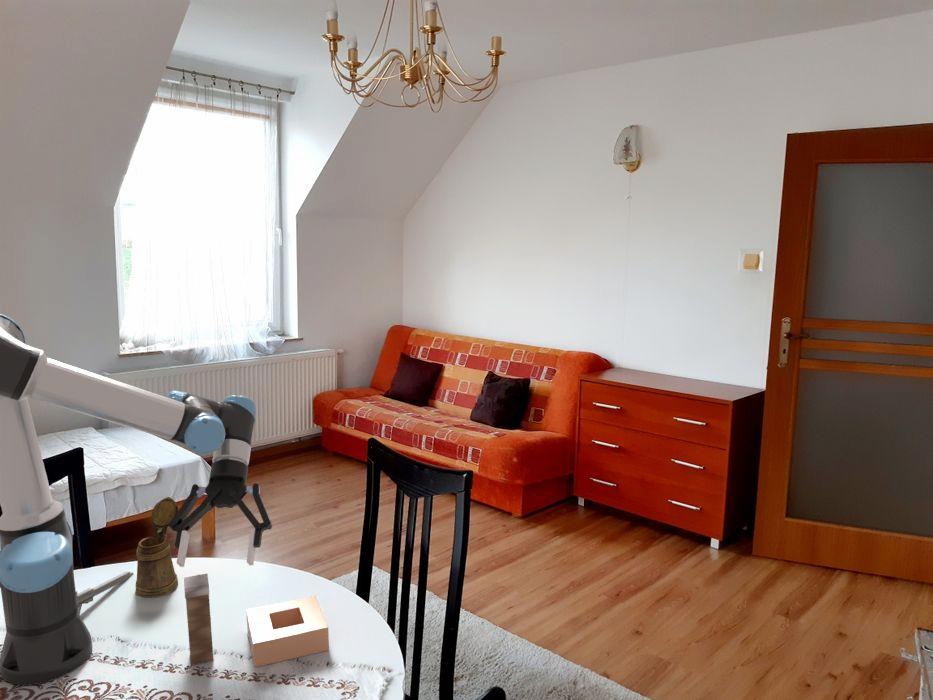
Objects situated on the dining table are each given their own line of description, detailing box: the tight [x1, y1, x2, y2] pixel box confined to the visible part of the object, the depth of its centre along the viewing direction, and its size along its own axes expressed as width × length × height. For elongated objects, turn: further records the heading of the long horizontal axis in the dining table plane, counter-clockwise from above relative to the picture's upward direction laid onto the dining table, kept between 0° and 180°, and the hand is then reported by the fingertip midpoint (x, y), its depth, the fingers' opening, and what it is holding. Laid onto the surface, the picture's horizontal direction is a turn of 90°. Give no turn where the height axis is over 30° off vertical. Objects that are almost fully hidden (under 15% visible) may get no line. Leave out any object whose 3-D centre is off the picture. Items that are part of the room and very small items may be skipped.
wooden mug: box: [134, 496, 179, 599], centre depth 161 cm, size 9×14×18 cm, turn 177°
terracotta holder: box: [245, 595, 330, 668], centre depth 141 cm, size 14×12×5 cm
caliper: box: [76, 571, 135, 616], centre depth 156 cm, size 20×1×6 cm, turn 169°
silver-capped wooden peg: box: [183, 573, 214, 666], centre depth 135 cm, size 4×4×16 cm
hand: (215, 564), depth 142 cm, fingers open, 13 cm apart
